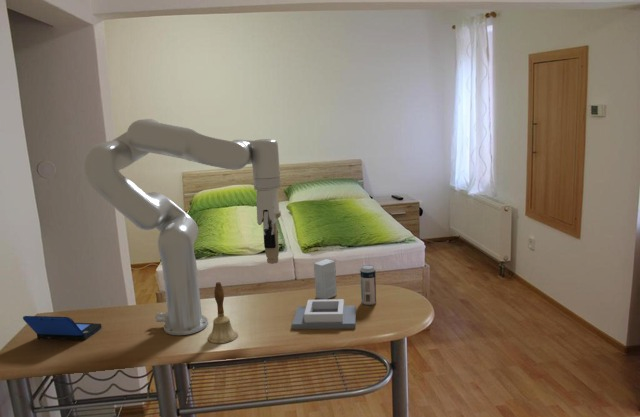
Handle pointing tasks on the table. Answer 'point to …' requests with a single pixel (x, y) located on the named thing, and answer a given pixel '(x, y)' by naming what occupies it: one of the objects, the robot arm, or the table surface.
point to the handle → (274, 252)
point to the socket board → (325, 315)
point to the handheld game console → (60, 328)
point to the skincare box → (325, 279)
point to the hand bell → (221, 321)
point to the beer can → (368, 285)
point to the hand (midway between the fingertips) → (271, 245)
